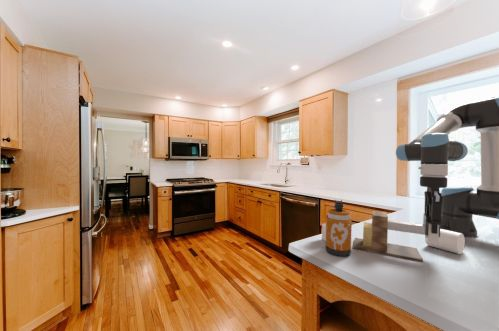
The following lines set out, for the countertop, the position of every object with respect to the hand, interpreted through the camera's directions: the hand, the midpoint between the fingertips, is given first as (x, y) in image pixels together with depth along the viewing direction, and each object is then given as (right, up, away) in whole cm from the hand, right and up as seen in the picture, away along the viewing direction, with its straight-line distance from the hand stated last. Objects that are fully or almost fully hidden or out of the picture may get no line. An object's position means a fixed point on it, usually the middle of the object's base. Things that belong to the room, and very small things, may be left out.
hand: (431, 239), depth 77 cm
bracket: (-12, -6, +7) cm, 16 cm away
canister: (-32, -6, +5) cm, 33 cm away
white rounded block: (+14, -7, +9) cm, 18 cm away
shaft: (-7, +2, +4) cm, 8 cm away
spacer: (-18, -1, +10) cm, 20 cm away
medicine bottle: (-30, -6, +15) cm, 34 cm away
